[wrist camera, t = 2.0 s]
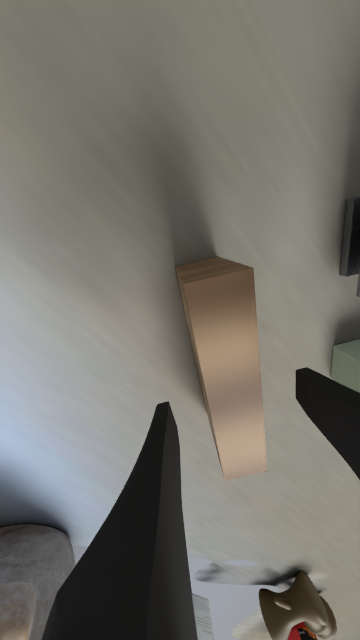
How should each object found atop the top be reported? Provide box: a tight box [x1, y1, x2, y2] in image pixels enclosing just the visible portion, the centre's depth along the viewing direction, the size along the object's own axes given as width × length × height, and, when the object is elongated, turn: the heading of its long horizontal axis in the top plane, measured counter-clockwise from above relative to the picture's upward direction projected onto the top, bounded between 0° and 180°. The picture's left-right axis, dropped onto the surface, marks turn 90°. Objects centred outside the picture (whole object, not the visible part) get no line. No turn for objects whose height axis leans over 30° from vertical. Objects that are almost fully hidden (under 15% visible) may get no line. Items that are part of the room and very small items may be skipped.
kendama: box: [259, 571, 337, 640], centre depth 35 cm, size 6×10×20 cm
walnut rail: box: [175, 257, 267, 481], centre depth 14 cm, size 14×3×6 cm, turn 12°
